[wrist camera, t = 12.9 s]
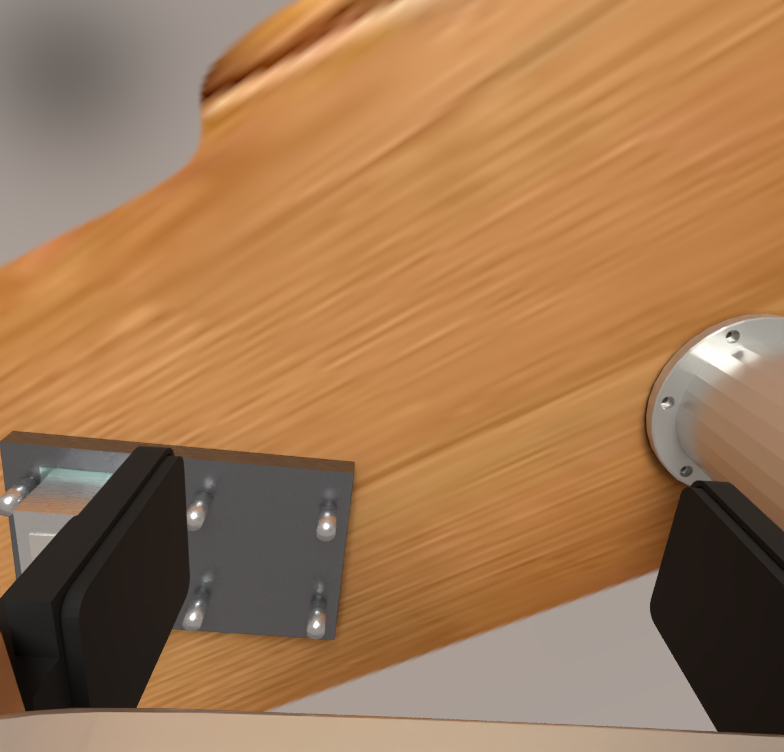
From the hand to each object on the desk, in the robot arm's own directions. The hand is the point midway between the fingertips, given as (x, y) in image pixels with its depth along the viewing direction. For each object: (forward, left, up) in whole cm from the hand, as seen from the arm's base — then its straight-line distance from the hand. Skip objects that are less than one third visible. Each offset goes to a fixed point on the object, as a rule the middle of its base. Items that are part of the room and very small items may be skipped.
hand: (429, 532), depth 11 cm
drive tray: (+12, +20, -26) cm, 34 cm away
